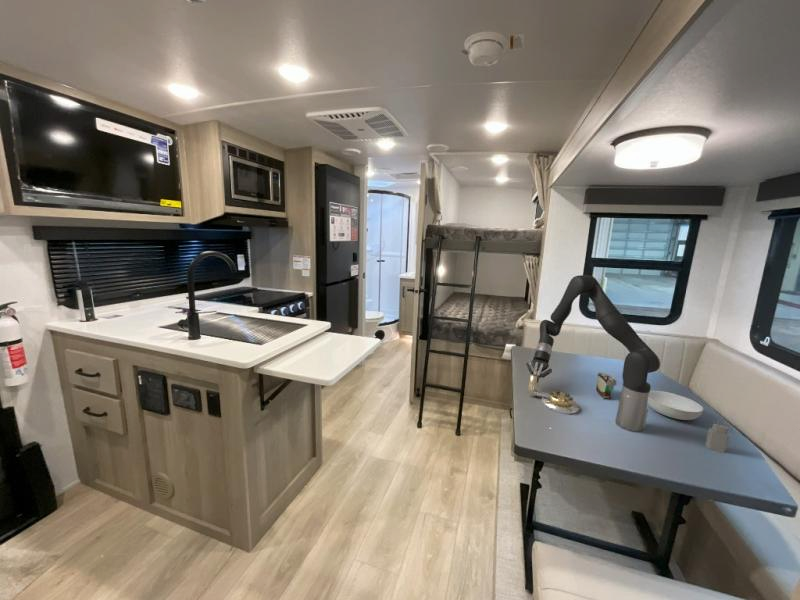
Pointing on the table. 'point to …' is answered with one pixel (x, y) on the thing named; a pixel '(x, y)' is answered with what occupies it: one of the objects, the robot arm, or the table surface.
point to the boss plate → (559, 409)
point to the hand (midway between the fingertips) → (534, 382)
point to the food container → (605, 385)
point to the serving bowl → (674, 405)
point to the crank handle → (554, 397)
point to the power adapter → (717, 437)
